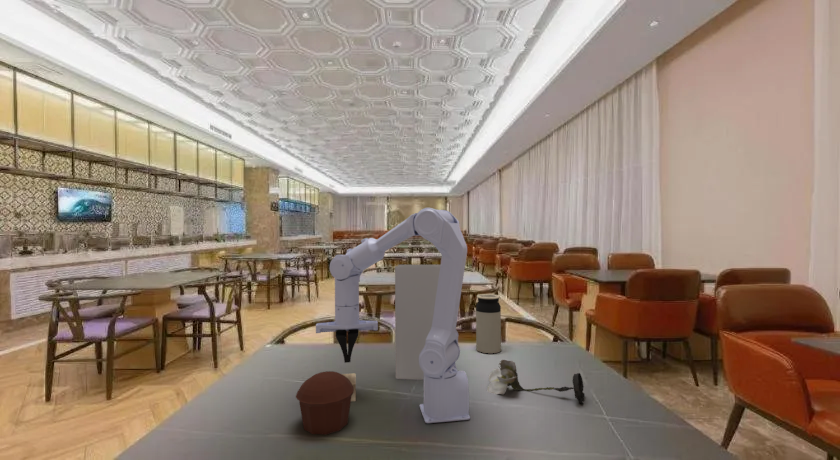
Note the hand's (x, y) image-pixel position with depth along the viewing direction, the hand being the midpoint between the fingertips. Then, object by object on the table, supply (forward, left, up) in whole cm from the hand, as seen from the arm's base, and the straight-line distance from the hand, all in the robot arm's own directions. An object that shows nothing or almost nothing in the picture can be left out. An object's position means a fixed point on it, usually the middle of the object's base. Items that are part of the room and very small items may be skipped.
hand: (347, 361), depth 92 cm
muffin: (+4, +13, -8) cm, 16 cm away
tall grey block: (-20, -9, -8) cm, 23 cm away
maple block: (-2, 0, -6) cm, 7 cm away
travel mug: (-45, -27, -8) cm, 53 cm away
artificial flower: (-44, +8, -9) cm, 45 cm away
